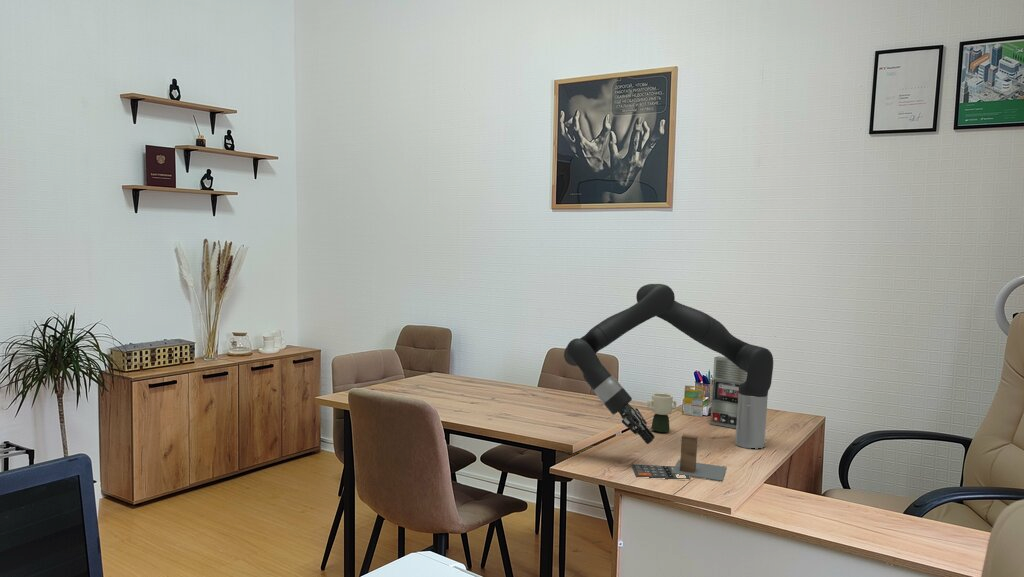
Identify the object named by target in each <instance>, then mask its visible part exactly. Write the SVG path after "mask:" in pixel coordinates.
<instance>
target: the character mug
mask: <svg viewBox="0 0 1024 577" xmlns="http://www.w3.org/2000/svg"><path fill="white" fill-rule="evenodd" d="M673 398H674V396H673V395H672V394H668V393H663V392H655V393H652V394H651V399H648V400H647V405H646V408H647V410H651V412H652V413H653V414H654V415H653V418H652V422H651V427H650V429H651V430H652V431H655V432H656V433H657V432H659V433H668V432H670V431H671V428H670V418H669V415H671V414H672V412H673V411H672V410H676V408H677V400H676V399H673Z"/></svg>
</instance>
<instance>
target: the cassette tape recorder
mask: <svg viewBox="0 0 1024 577" xmlns="http://www.w3.org/2000/svg"><path fill="white" fill-rule="evenodd" d="M713 360H714V361H713V377H712V388H711V389H712V390H711V391H712V394H711V406H710V407H711V408H710V420H709V421H708V422H709V425H711V426H714V425H715V426H719V427H725V428H732V429H736V424H737V408H738V393H739V385H740V384H742V383H744V382H745V381H746V379H747V372H746V371H744V370H742V369H740V368H739V367H738V366H736V365H735V364H734V363H733V362H731V361H730V360H729V359H728V358H726V357H725V356H723V355H722V356H720V355H719V356H715V357H714V358H713Z"/></svg>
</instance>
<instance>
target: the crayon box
mask: <svg viewBox="0 0 1024 577" xmlns="http://www.w3.org/2000/svg"><path fill="white" fill-rule="evenodd" d="M693 388H695V389H693ZM683 392H684V395H683V409H682V413H683V416H696V417H703V410H704V395H705V394H704V393H705V392H704V386H698V385H697V386H696V385H684V391H683Z"/></svg>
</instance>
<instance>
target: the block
mask: <svg viewBox="0 0 1024 577" xmlns="http://www.w3.org/2000/svg"><path fill="white" fill-rule="evenodd" d="M698 436H699V435H697V434H691V433H684V432H683V434H682V435H681V441H680V442H681V444H680V446H681V447H680V459H679V460H680V471H684V472H691V473H694V472H695V470H696V463H697V454H698V453H697V452H698V440H699V439H698Z"/></svg>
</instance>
